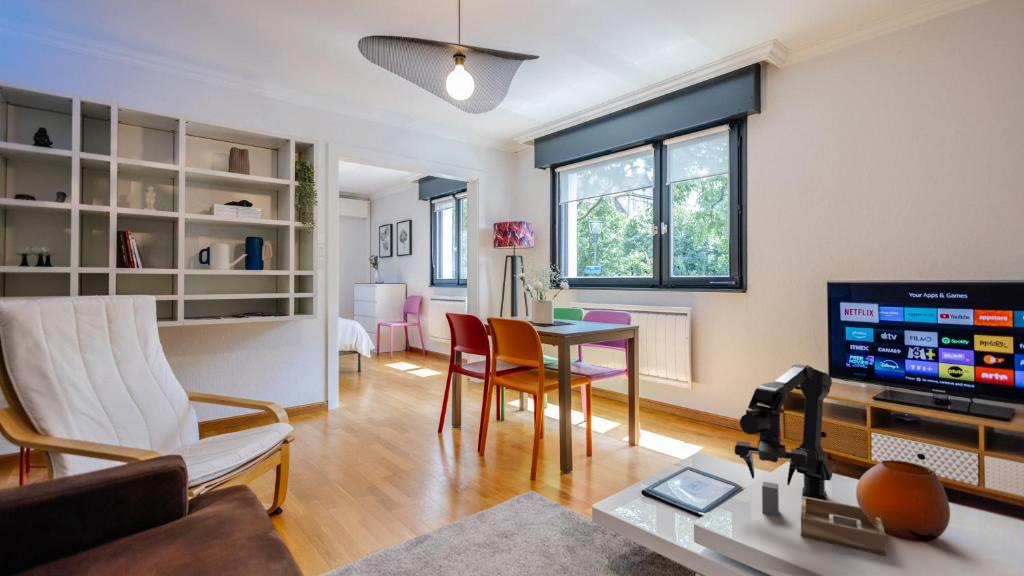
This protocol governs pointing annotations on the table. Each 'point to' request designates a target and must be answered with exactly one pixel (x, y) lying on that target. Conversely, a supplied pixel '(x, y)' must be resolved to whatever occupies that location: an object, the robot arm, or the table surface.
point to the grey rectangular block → (770, 498)
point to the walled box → (841, 526)
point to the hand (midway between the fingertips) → (770, 481)
